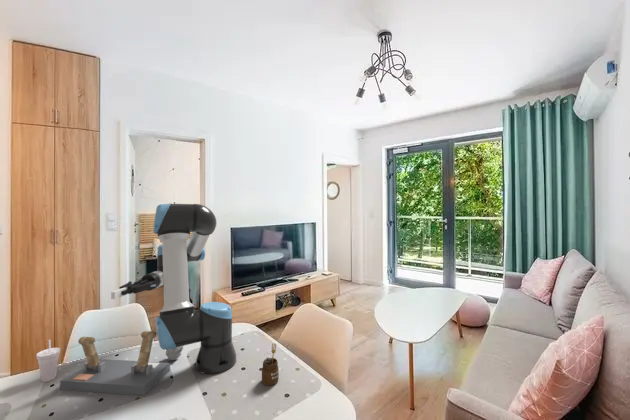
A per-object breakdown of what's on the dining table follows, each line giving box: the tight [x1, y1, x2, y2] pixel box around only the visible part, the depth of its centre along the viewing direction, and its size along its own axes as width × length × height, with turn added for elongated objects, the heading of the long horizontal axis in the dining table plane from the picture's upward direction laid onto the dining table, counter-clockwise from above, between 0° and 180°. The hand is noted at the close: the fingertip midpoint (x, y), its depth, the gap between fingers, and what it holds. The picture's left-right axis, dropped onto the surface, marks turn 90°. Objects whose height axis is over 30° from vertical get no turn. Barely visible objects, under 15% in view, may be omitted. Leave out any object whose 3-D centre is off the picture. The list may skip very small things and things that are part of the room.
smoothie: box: [35, 339, 61, 383], centre depth 102 cm, size 6×6×14 cm
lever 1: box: [77, 336, 102, 370], centre depth 101 cm, size 5×2×13 cm, turn 84°
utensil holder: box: [261, 342, 280, 386], centre depth 101 cm, size 6×6×12 cm
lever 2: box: [134, 330, 157, 373], centre depth 103 cm, size 5×2×13 cm, turn 85°
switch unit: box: [59, 358, 171, 396], centre depth 102 cm, size 30×14×6 cm, turn 85°
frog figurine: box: [165, 346, 184, 361], centre depth 115 cm, size 6×7×7 cm
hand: (113, 295), depth 111 cm, fingers closed
